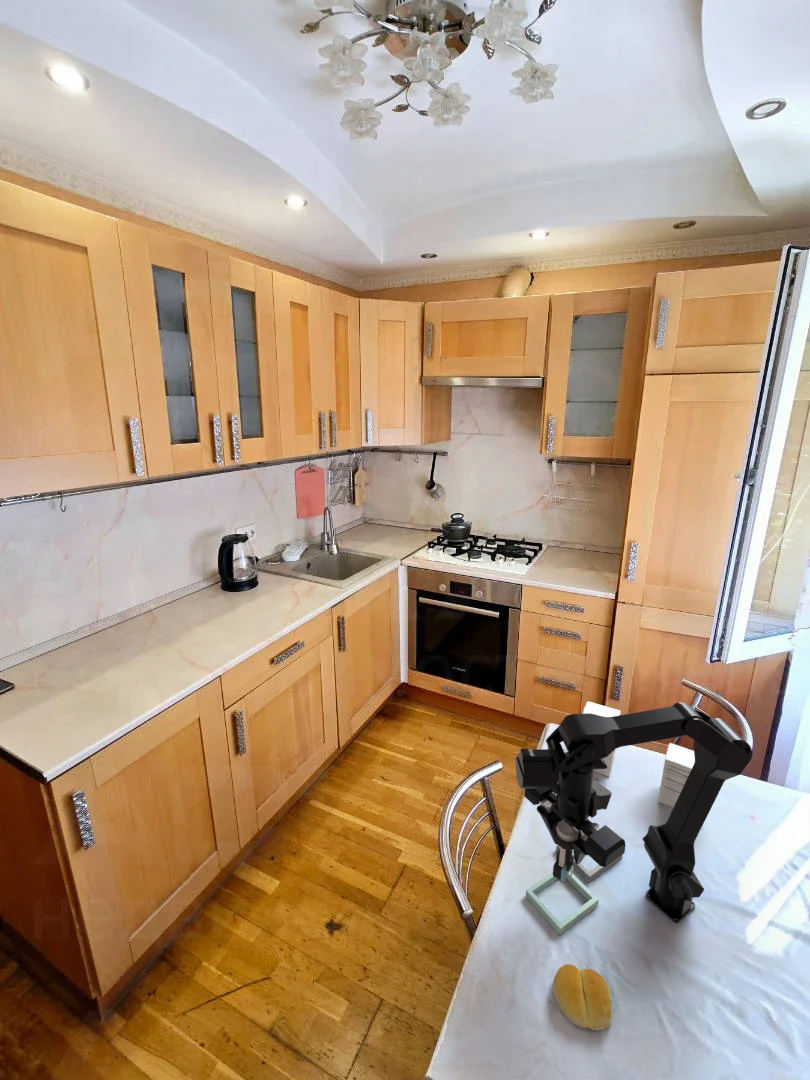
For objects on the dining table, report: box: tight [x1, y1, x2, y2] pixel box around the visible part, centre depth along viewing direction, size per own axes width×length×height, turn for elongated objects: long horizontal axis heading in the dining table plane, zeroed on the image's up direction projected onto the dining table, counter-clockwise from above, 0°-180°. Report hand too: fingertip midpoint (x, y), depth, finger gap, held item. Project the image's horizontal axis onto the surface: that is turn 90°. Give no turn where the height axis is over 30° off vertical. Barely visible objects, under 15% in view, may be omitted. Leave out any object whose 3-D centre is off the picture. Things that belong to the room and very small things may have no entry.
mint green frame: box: [525, 871, 599, 936], centre depth 94 cm, size 9×11×2 cm
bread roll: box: [552, 963, 613, 1031], centre depth 78 cm, size 8×9×4 cm
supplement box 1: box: [581, 701, 622, 778], centre depth 130 cm, size 9×9×15 cm
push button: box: [552, 820, 582, 883], centre depth 91 cm, size 7×5×10 cm
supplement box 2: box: [658, 742, 695, 809], centre depth 117 cm, size 7×7×13 cm
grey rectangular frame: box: [555, 831, 623, 883], centre depth 104 cm, size 9×11×2 cm
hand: (567, 852), depth 91 cm, fingers closed on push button, 5 cm apart
